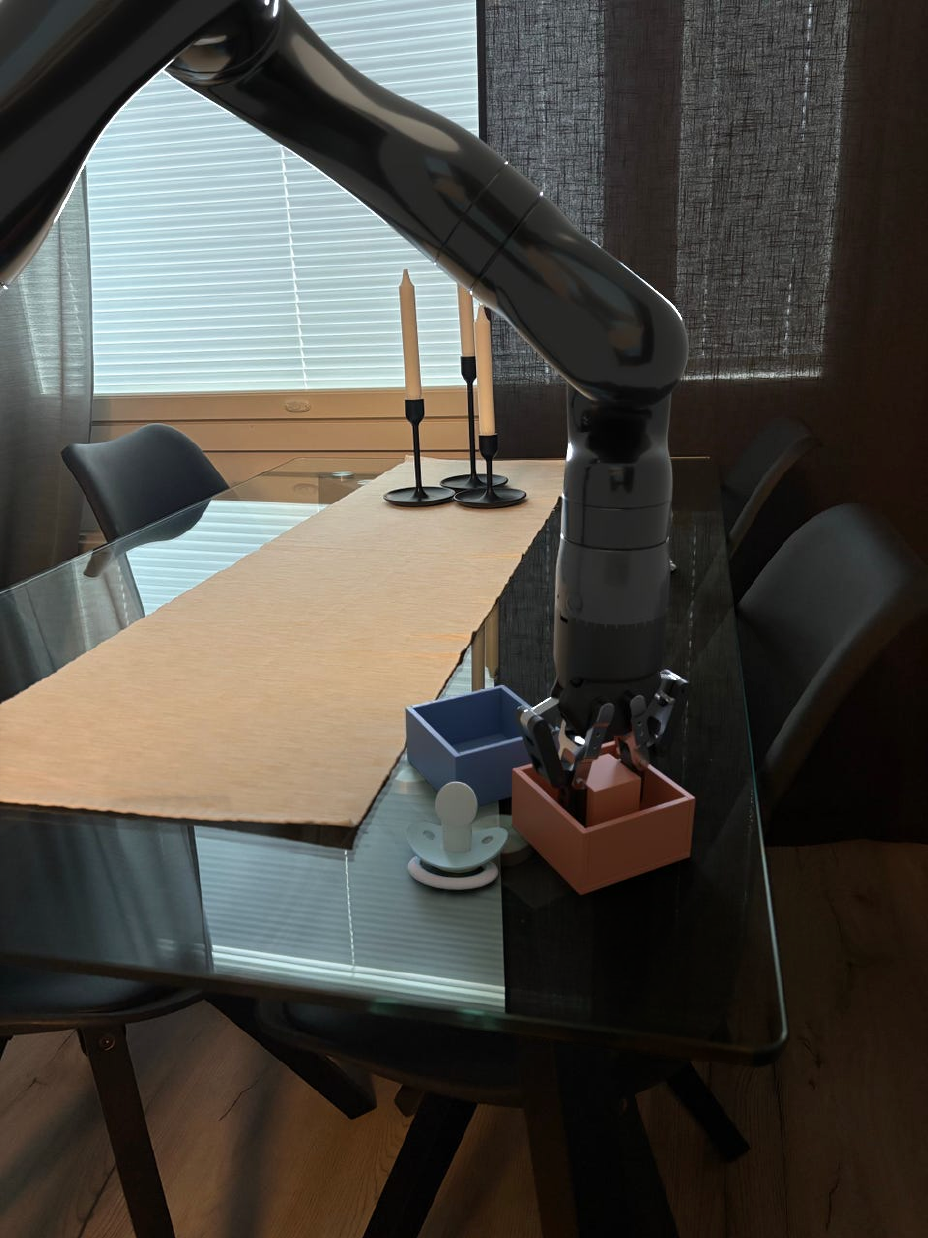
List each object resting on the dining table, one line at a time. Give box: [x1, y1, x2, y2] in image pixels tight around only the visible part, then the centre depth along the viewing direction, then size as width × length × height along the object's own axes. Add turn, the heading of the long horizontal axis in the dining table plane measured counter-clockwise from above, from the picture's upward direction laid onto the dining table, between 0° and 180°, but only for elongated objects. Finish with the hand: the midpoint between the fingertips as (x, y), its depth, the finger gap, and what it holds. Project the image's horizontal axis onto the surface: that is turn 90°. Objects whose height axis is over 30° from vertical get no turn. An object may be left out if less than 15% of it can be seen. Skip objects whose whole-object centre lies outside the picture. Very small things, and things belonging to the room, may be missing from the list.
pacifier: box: [405, 782, 509, 891], centre depth 67 cm, size 7×6×6 cm
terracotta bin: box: [511, 740, 696, 896], centre depth 70 cm, size 10×10×5 cm
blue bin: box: [404, 684, 560, 807], centre depth 80 cm, size 10×10×5 cm
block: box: [573, 754, 641, 829], centre depth 70 cm, size 4×4×4 cm
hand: (599, 816), depth 70 cm, fingers closed on block, 4 cm apart
